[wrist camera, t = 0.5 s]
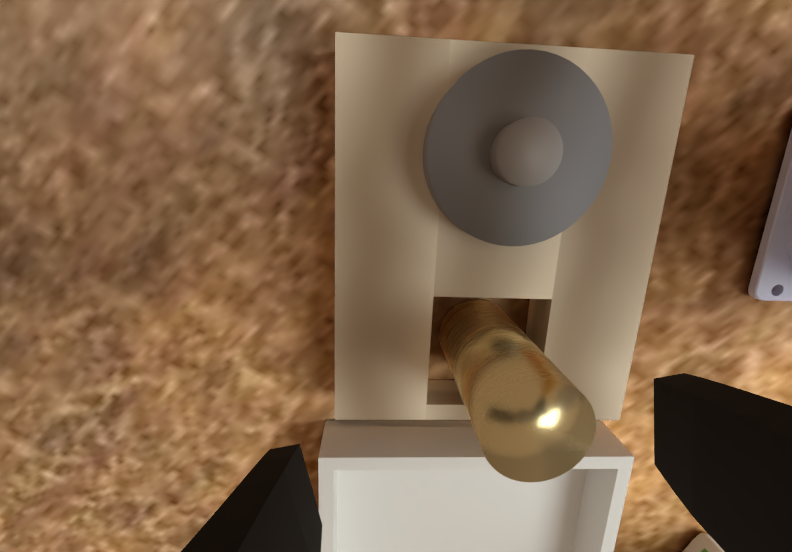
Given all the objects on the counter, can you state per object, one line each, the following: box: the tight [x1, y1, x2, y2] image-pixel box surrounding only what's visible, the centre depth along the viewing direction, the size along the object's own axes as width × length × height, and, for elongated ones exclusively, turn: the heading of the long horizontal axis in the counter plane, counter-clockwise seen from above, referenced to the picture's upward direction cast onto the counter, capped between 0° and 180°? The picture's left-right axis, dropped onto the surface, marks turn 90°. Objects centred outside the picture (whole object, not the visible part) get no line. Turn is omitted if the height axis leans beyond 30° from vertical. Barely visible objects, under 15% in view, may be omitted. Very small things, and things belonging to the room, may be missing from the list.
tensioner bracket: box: [335, 32, 694, 420], centre depth 15 cm, size 12×14×4 cm
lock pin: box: [439, 299, 596, 482], centre depth 14 cm, size 3×3×7 cm
